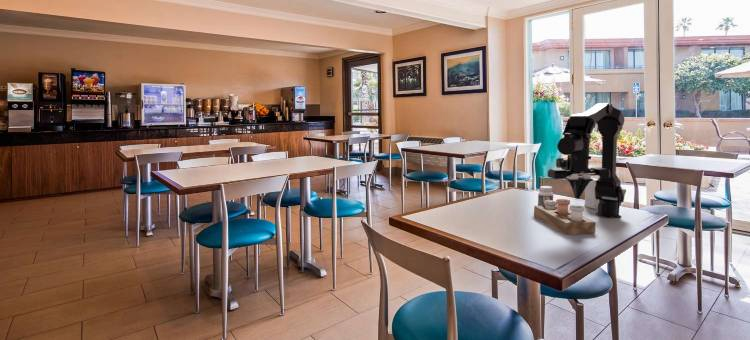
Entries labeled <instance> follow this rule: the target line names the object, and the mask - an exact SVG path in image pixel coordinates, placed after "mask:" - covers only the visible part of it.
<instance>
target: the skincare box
mask: <svg viewBox="0 0 750 340" xmlns="http://www.w3.org/2000/svg"><path fill="white" fill-rule="evenodd" d="M591 179H593V181H590V182H589V184H588V185H587V186H586V188H585V189H584V207H585V208H586V207H587V208H590V209H594V210H598V203H599V199H596V196H595V186H596V181H597V180H598V179H599V178H594V177H591Z"/></svg>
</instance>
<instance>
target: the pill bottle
mask: <svg viewBox="0 0 750 340" xmlns="http://www.w3.org/2000/svg"><path fill="white" fill-rule="evenodd" d="M539 190H540V191H539V192H538V193H537V194H538V195H537V206H545V205H544V201H545V200H553V201H554V192H552V191H553V186H550V185H541V186H540V187H539Z"/></svg>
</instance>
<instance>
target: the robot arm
mask: <svg viewBox="0 0 750 340" xmlns="http://www.w3.org/2000/svg"><path fill="white" fill-rule="evenodd" d="M624 116H625V115H624V114H623V112H622V111H621V110H619V109H618V108H616V107H614V106H613V104H612V103H610V102H603V103H602V102H599V103H595V105H594V106H593V107H591V108H590V109H587V110H586V111H585V112H582V113H581V112H580V113H573V114H571V115H570V116H569V118H568V119H567V121H566V124H565V126H564V128H563V129H564V130H563V132H562V136H563V137H562V138H560V139H559V141H558V142H557V145H556V148H557V150H558V152H559V153H561V155H565V156H567V159H564V157H560V158H559V157H557V158H556V160H555V167H556V168H549V169H548V170H547V177H548V178H551V179H554V180H567V181H568V183H569V184H570V186H571V190H572V192H573V195H574V198H575V199H577V200H579V199H580V197H582V194H583V192H585V188H586V186H587V185H588V184H589V182H590V181H593V179H591V178H592V176H593V177H594V176H598V178H597V179H598V180H597V181H596V186H595V196H596V199H599V203H598V209H597V212H595V214H596V215H598V216H600V217H603V218H609V219H610V218H622V215H620V205H621V204H620V203H624V201H625V193H624V191H623V187H622V186H621V180H620V178H619V177H618V176H617V151H618V150H617V148H618V136H619V134H620V133H621V132H622V130H623V126H624V124H625V117H624ZM596 125H597V131H598V133H599V134H600V135H601V137H602V140H601V141H602V144H601V145H602V146H601V147H602V148H601V167H589V162H590V161H589V160H592V156H591V155H590V144H591V143H590V141H591V138H592V135H591V134H592V133H593V131H594V129H595V128H596Z"/></svg>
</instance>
